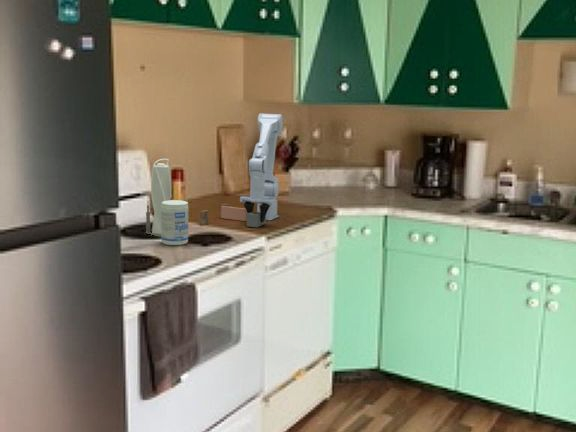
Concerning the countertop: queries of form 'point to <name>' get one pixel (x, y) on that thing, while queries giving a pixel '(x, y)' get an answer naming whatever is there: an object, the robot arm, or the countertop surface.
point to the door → (233, 213)
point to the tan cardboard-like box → (206, 216)
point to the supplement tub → (174, 222)
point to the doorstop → (254, 219)
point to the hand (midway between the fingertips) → (256, 221)
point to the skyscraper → (158, 195)
